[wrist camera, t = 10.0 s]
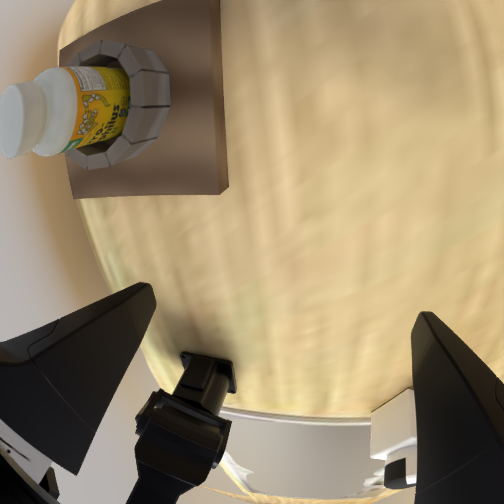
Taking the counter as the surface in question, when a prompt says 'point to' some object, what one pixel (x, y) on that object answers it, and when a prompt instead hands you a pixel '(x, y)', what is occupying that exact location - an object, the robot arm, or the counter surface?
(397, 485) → the medicine bottle
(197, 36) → the brown base with ring
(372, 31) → the counter surface
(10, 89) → the supplement bottle
